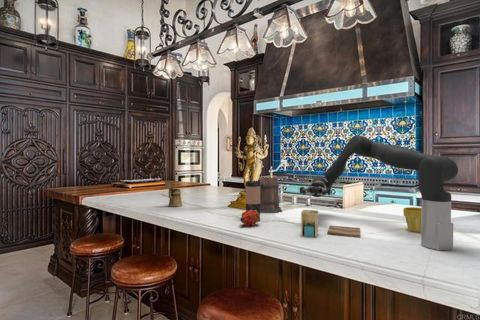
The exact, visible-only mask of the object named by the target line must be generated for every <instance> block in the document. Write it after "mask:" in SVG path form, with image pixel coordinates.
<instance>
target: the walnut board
mask: <svg viewBox="0 0 480 320" xmlns="http://www.w3.org/2000/svg"><path fill="white" fill-rule="evenodd" d="M326 234H327V235H328V236H341V237H350V238H351V237H352V238H361V228H360V227H352V226H341V225H329V226H328V229H327V232H326Z"/></svg>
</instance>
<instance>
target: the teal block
mask: <svg viewBox="0 0 480 320" xmlns="http://www.w3.org/2000/svg"><path fill="white" fill-rule="evenodd" d="M303 236H304V237H312V238H314V237H315V225H307V224H306V225H305V226H304V235H303Z"/></svg>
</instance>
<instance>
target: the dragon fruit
mask: <svg viewBox="0 0 480 320" xmlns="http://www.w3.org/2000/svg"><path fill="white" fill-rule="evenodd" d="M259 218H260V220H259ZM260 221H261V215H260V216H259V213H258V212H257V210H254V211H253V210H252V209H250V211H248V210H246V209H245V211H244V212H242V213H241V218H240V222H241V223H242V224H243V225H242V226H243V227H249V226H251V227H254V226H255V225H256V223H260Z"/></svg>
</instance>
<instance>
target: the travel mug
mask: <svg viewBox="0 0 480 320" xmlns="http://www.w3.org/2000/svg"><path fill="white" fill-rule="evenodd" d="M250 209H252V210H253V211H254V210H257V212H258V213H259V216H260V218H259V220H260V221H261V213H260V180H247V181H245V211H246V210H248V211H250Z"/></svg>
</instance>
